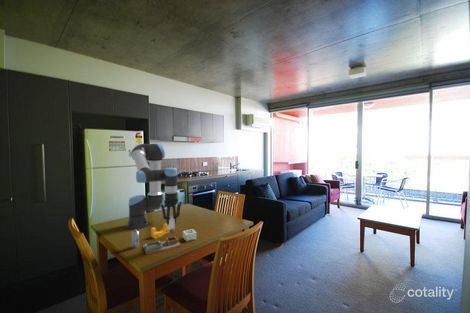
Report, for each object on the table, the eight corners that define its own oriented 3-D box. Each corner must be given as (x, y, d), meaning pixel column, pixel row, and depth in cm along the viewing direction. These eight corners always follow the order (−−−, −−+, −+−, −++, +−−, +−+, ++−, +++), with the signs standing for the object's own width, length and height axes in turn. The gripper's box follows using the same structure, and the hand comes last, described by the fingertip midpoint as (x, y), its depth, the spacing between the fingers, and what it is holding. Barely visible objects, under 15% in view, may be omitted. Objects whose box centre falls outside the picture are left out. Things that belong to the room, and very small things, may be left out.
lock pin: (168, 231, 133) (168, 216, 132) (173, 230, 134) (173, 215, 134) (169, 233, 130) (169, 218, 129) (174, 232, 132) (174, 217, 131)
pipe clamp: (155, 239, 140) (154, 229, 140) (151, 237, 143) (151, 228, 142) (170, 233, 150) (169, 224, 150) (166, 231, 152) (166, 223, 152)
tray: (182, 237, 141) (182, 231, 141) (192, 235, 145) (192, 229, 145) (186, 241, 135) (186, 234, 135) (196, 239, 139) (196, 232, 139)
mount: (143, 246, 128) (143, 241, 128) (175, 239, 139) (175, 234, 139) (146, 255, 118) (146, 249, 118) (181, 246, 129) (181, 240, 129)
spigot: (131, 246, 129) (131, 229, 128) (138, 245, 131) (138, 228, 130) (132, 249, 125) (132, 231, 125) (139, 247, 127) (139, 230, 127)
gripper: (160, 194, 123) (160, 233, 125) (184, 192, 132) (184, 228, 133) (157, 192, 130) (157, 229, 131) (180, 189, 138) (181, 224, 139)
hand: (171, 228), depth 132 cm, fingers closed on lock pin, 2 cm apart
